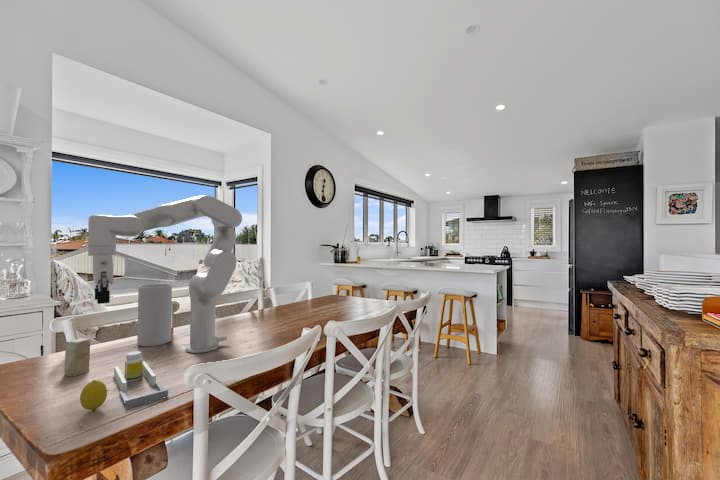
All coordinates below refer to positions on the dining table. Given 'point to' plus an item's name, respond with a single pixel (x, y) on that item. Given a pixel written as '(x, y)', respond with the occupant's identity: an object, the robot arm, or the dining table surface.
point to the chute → (145, 370)
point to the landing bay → (144, 396)
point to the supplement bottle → (133, 366)
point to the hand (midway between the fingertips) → (102, 301)
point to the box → (77, 356)
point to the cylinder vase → (154, 314)
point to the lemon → (93, 395)
